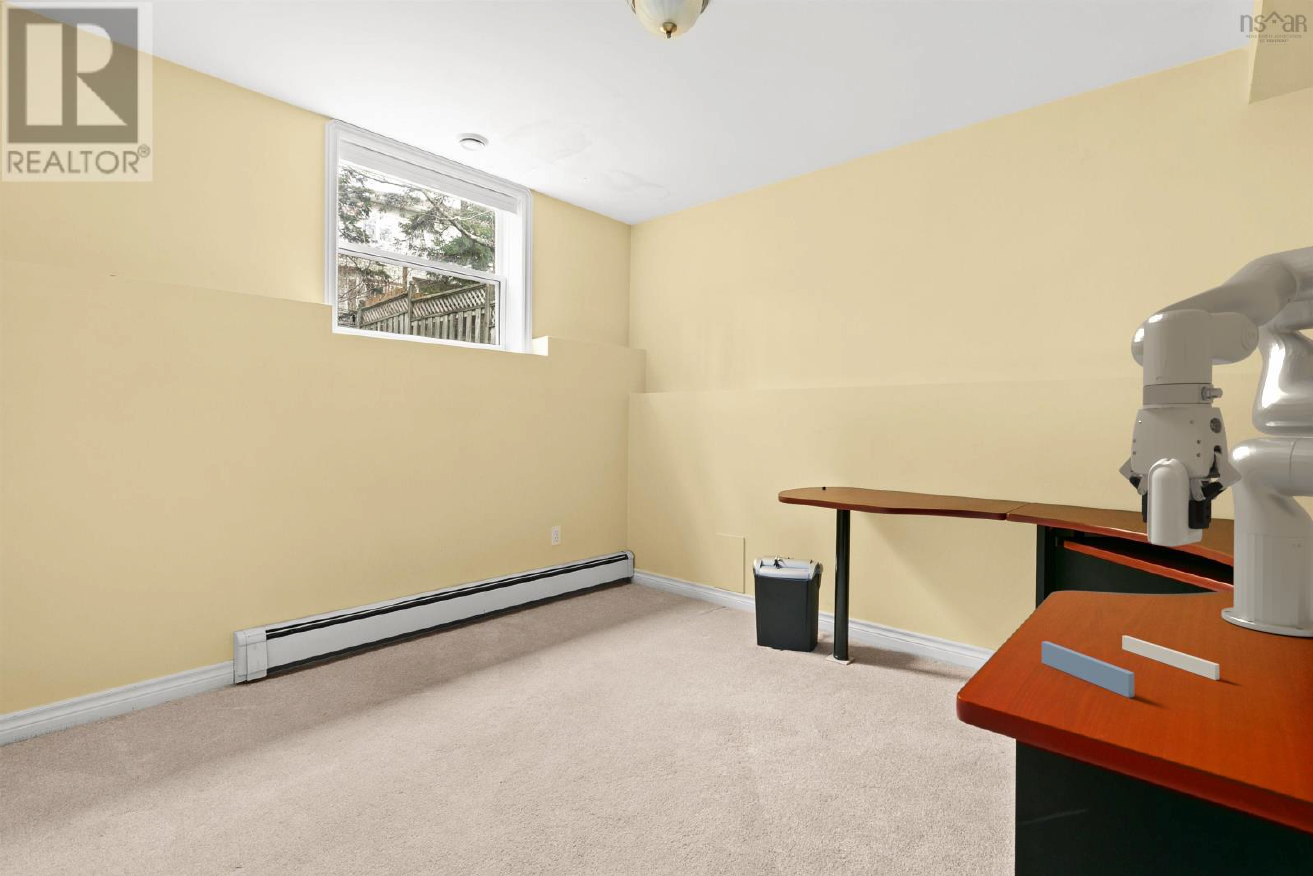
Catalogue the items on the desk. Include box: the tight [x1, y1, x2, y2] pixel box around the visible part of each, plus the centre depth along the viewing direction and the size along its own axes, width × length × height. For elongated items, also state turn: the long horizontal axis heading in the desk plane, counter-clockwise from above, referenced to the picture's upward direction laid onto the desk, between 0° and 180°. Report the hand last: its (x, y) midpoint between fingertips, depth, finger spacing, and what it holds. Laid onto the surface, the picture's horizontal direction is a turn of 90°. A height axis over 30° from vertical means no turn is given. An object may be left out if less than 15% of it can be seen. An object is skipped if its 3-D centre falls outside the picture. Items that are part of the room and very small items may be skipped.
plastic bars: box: [1041, 635, 1220, 699], centre depth 84 cm, size 17×12×3 cm
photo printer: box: [1146, 458, 1203, 547], centre depth 87 cm, size 10×4×12 cm, turn 123°
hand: (1174, 524), depth 87 cm, fingers closed on photo printer, 5 cm apart
